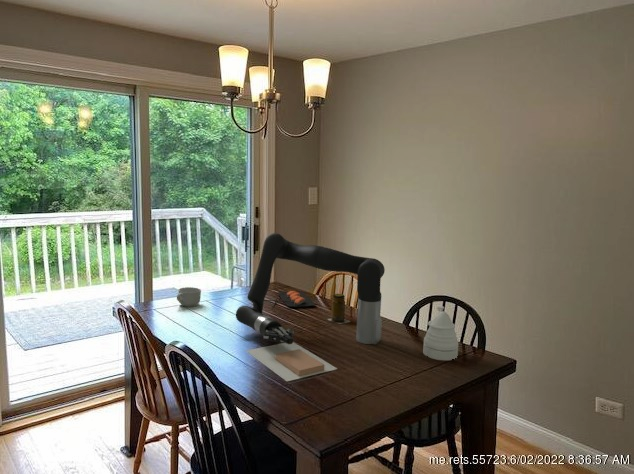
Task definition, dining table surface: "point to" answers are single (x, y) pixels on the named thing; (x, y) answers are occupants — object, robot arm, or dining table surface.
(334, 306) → the condiment
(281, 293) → the sushi plate
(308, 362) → the tile
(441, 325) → the honey pot
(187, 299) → the teacup
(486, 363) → the dining table surface
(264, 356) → the mat
